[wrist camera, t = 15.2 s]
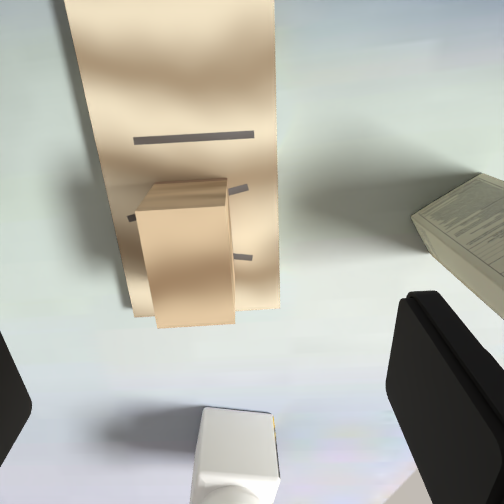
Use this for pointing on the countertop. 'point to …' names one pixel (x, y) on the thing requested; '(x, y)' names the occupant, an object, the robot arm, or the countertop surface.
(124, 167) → the board
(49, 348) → the countertop surface
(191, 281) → the block
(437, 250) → the skincare box
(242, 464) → the medicine bottle
